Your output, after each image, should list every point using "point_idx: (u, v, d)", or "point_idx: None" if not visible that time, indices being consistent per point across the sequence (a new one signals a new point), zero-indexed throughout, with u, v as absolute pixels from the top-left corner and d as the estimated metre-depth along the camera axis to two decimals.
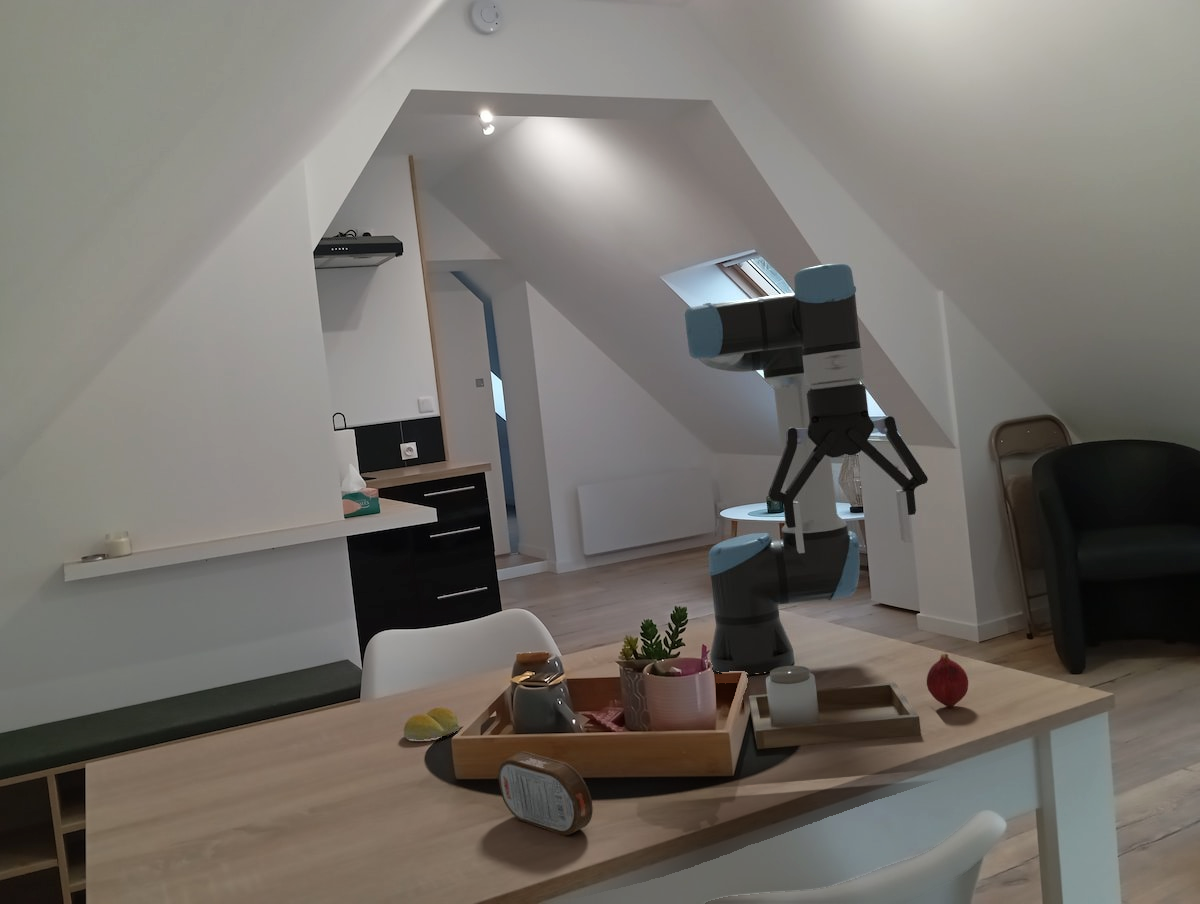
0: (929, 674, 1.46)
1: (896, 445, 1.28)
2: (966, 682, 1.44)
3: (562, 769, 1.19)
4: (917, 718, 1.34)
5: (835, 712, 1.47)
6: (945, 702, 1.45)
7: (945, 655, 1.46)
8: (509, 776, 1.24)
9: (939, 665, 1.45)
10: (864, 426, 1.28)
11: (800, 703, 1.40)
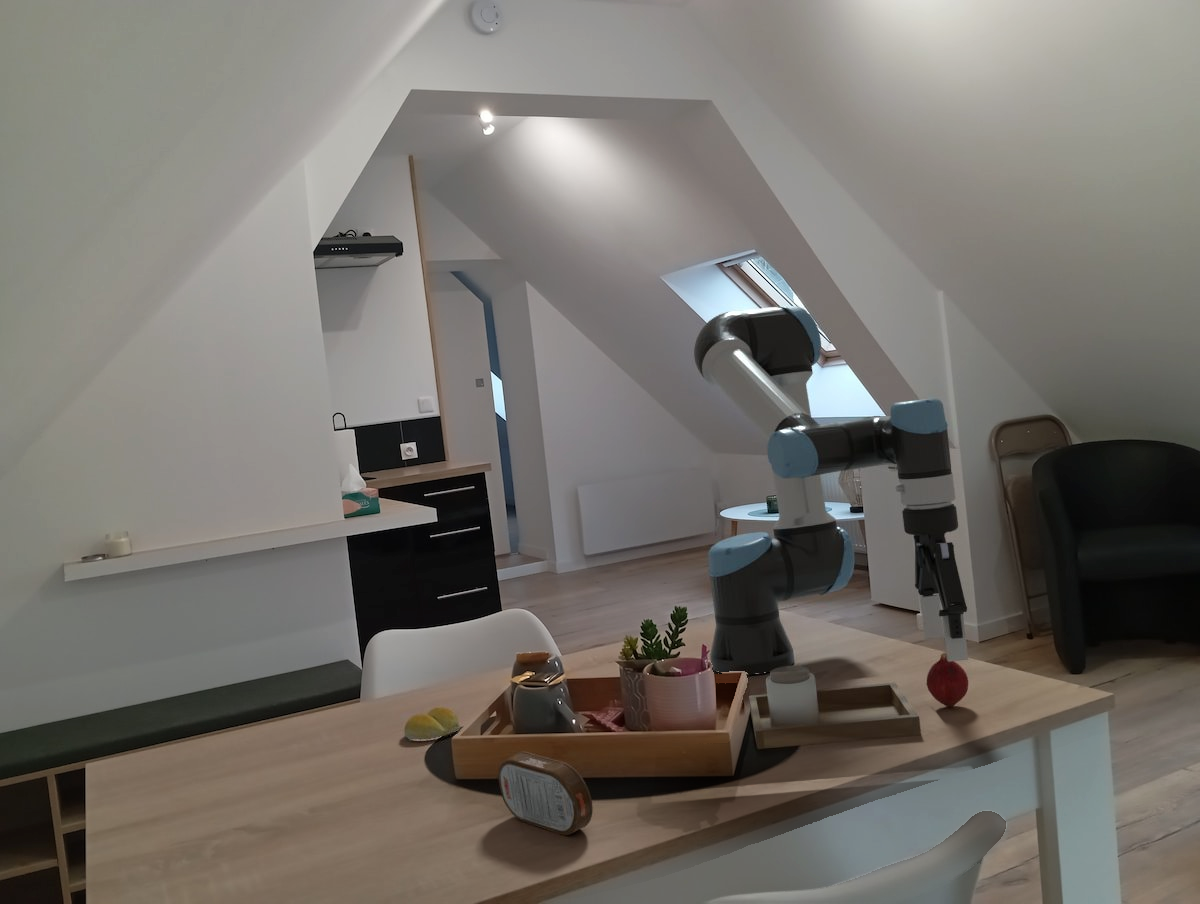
0: (929, 674, 1.46)
1: (938, 571, 1.39)
2: (966, 682, 1.44)
3: (562, 769, 1.19)
4: (917, 718, 1.34)
5: (835, 712, 1.47)
6: (945, 702, 1.45)
7: (945, 655, 1.46)
8: (509, 776, 1.24)
9: (939, 665, 1.45)
10: (930, 547, 1.42)
11: (800, 703, 1.40)
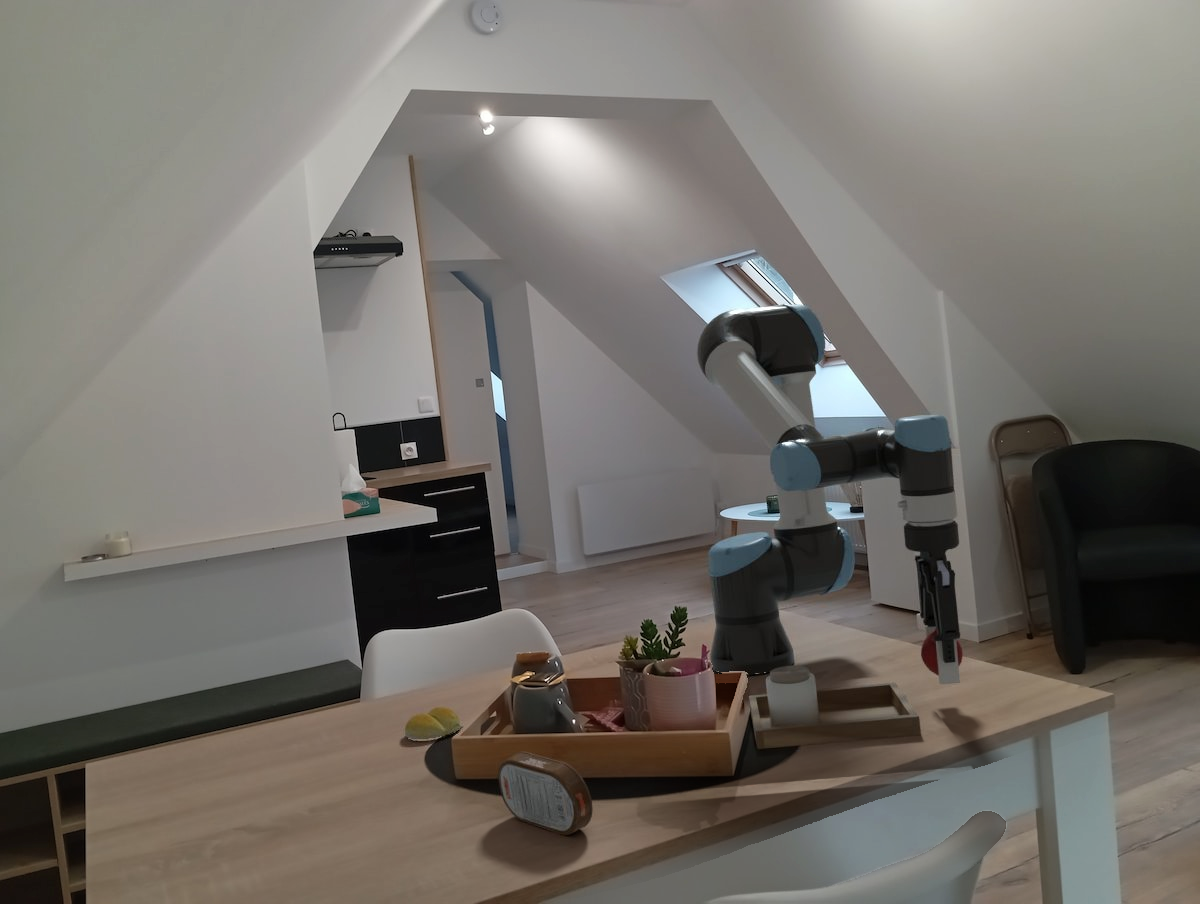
0: (924, 645, 1.47)
1: (936, 596, 1.41)
2: (960, 653, 1.45)
3: (562, 769, 1.19)
4: (917, 718, 1.34)
5: (835, 712, 1.47)
6: None
7: None
8: (509, 776, 1.24)
9: None
10: (930, 564, 1.43)
11: (800, 703, 1.40)
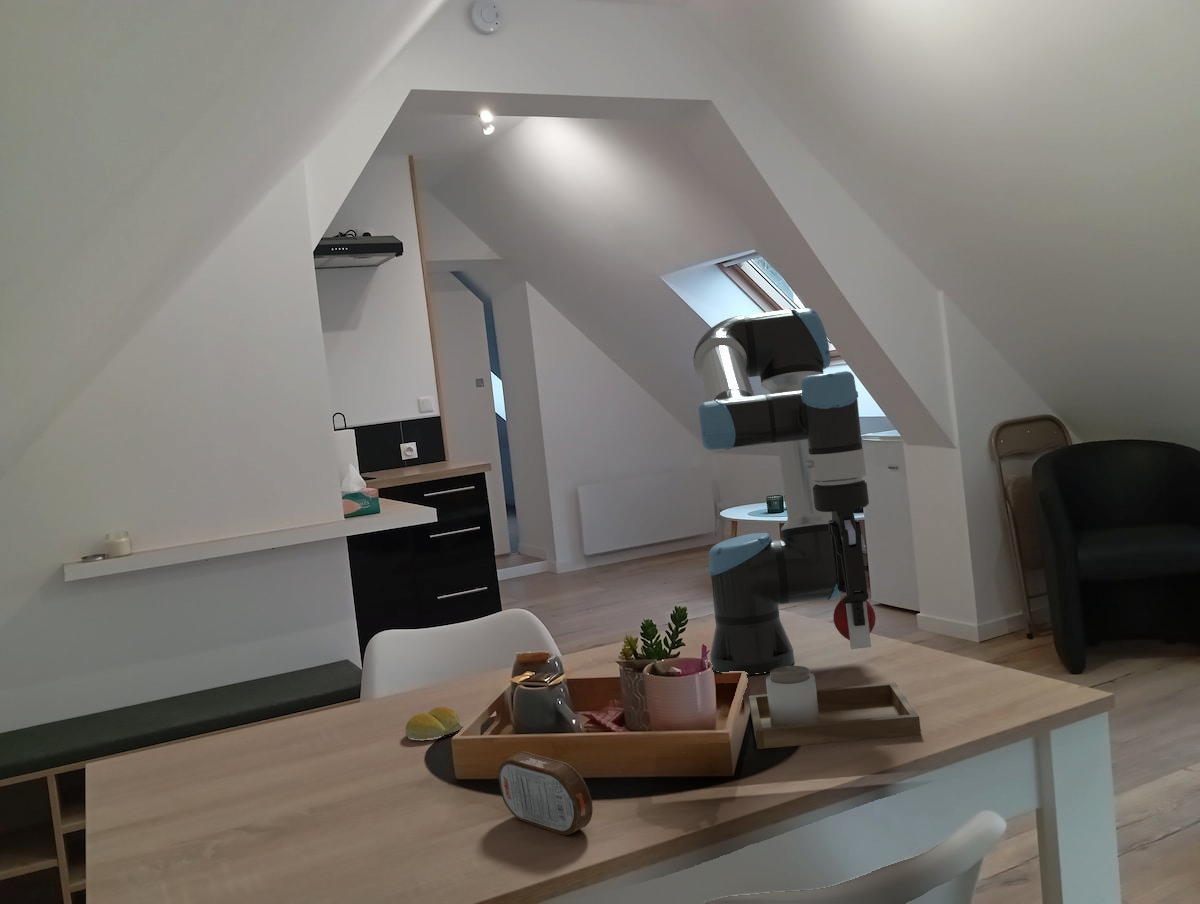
0: (835, 609, 1.42)
1: (844, 556, 1.37)
2: (872, 617, 1.40)
3: (562, 769, 1.19)
4: (917, 718, 1.34)
5: (835, 712, 1.47)
6: None
7: None
8: (509, 776, 1.24)
9: None
10: (838, 524, 1.39)
11: (800, 703, 1.40)
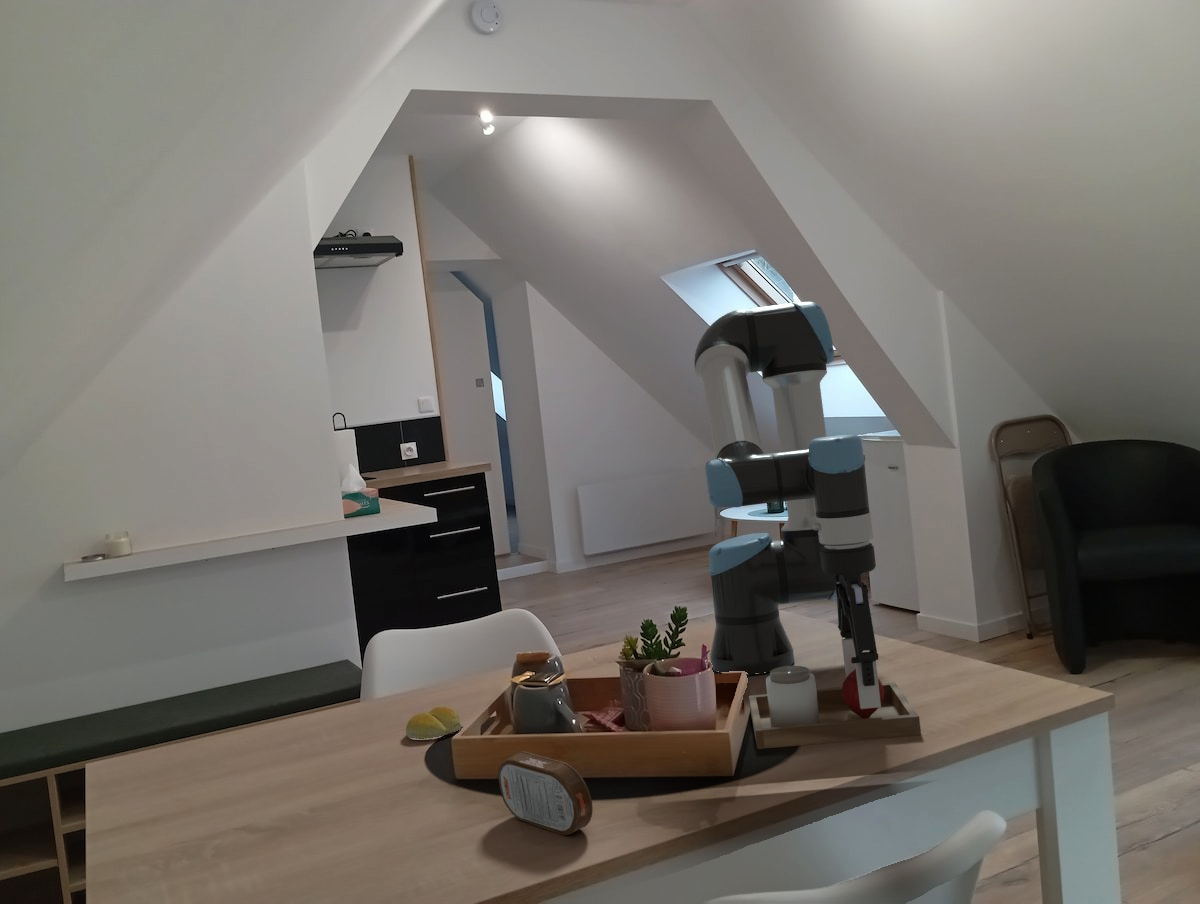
0: (844, 683, 1.43)
1: (851, 616, 1.36)
2: (881, 691, 1.41)
3: (562, 769, 1.19)
4: (917, 718, 1.34)
5: (835, 712, 1.47)
6: (859, 712, 1.41)
7: None
8: (509, 776, 1.24)
9: (854, 674, 1.42)
10: (845, 588, 1.39)
11: (800, 703, 1.40)
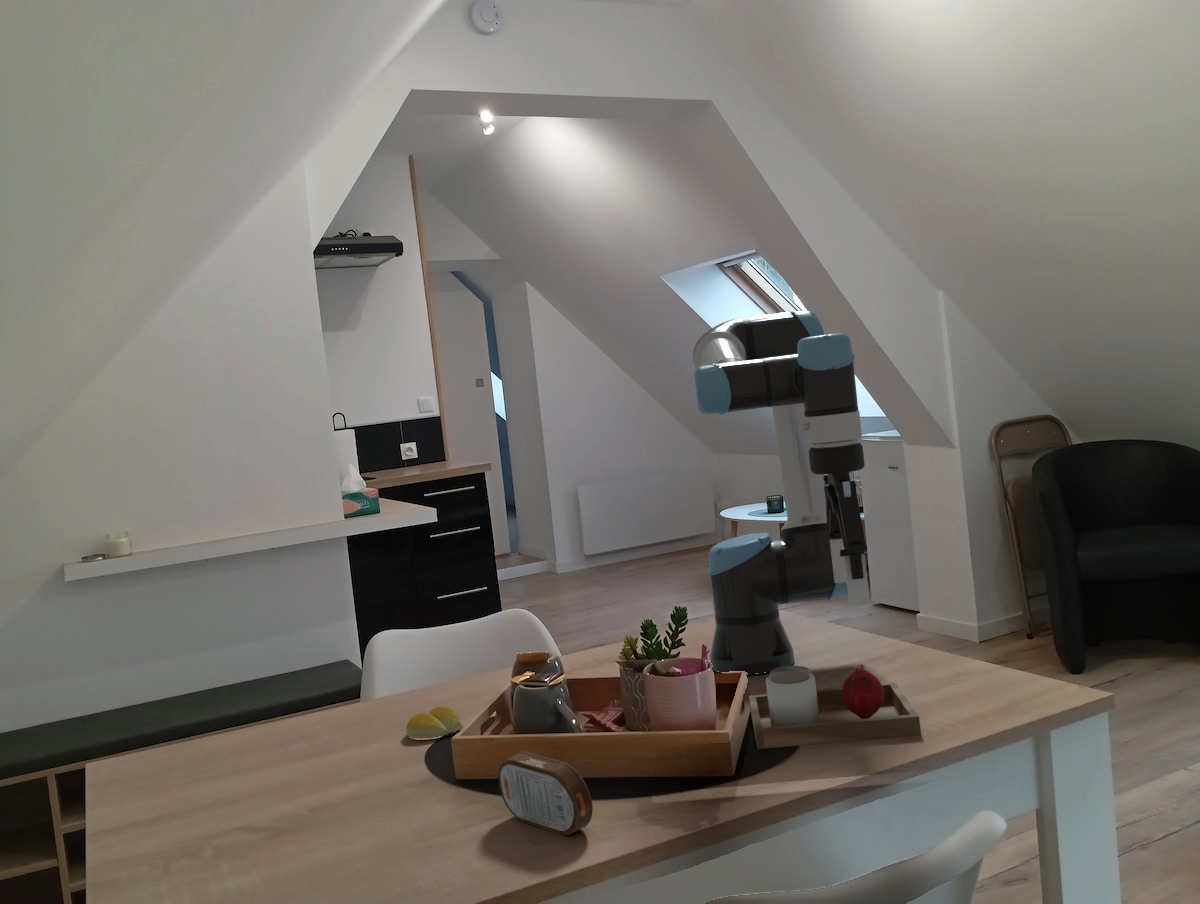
0: (844, 685, 1.43)
1: (840, 511, 1.35)
2: (880, 694, 1.41)
3: (562, 769, 1.19)
4: (917, 718, 1.34)
5: (835, 712, 1.47)
6: (859, 714, 1.41)
7: (860, 666, 1.42)
8: (509, 776, 1.24)
9: (853, 676, 1.42)
10: (834, 486, 1.38)
11: (801, 703, 1.40)
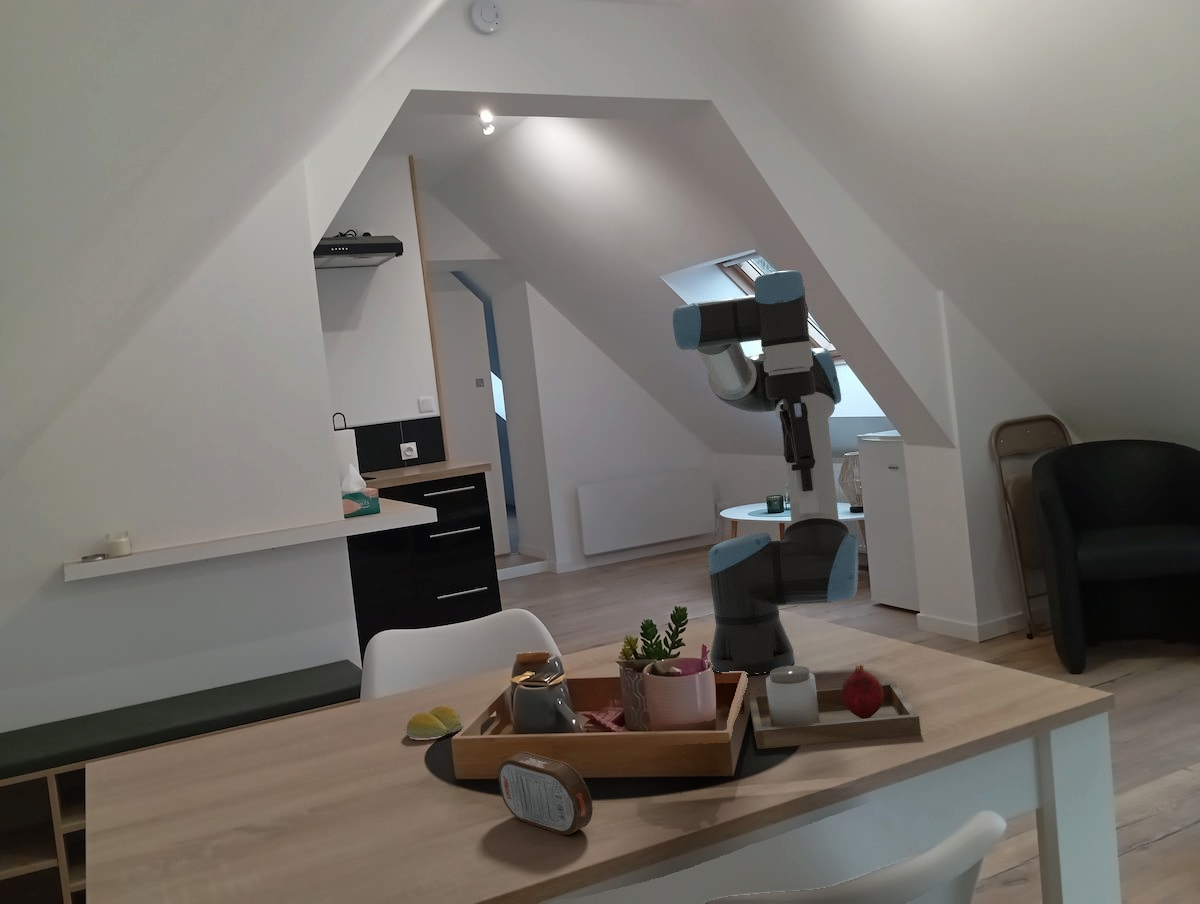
0: (843, 686, 1.42)
1: (791, 430, 1.49)
2: (880, 694, 1.40)
3: (562, 769, 1.19)
4: (917, 718, 1.34)
5: (835, 712, 1.47)
6: (859, 715, 1.41)
7: (860, 666, 1.42)
8: (509, 776, 1.24)
9: (853, 677, 1.41)
10: (787, 410, 1.52)
11: (801, 703, 1.40)
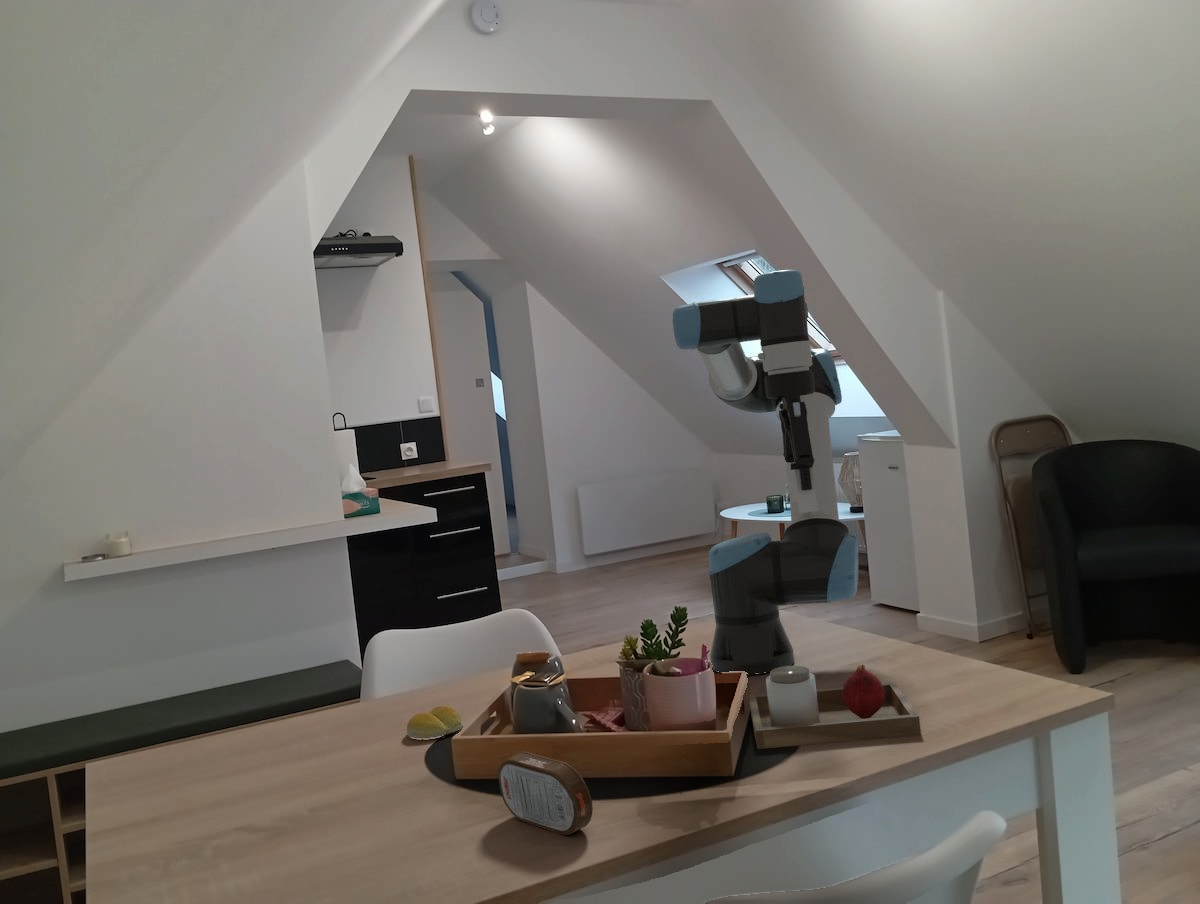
0: (844, 685, 1.42)
1: (791, 429, 1.49)
2: (881, 694, 1.40)
3: (562, 769, 1.19)
4: (917, 718, 1.34)
5: (835, 712, 1.47)
6: (859, 714, 1.41)
7: (861, 666, 1.42)
8: (509, 776, 1.24)
9: (854, 677, 1.41)
10: (786, 409, 1.52)
11: (801, 703, 1.40)
